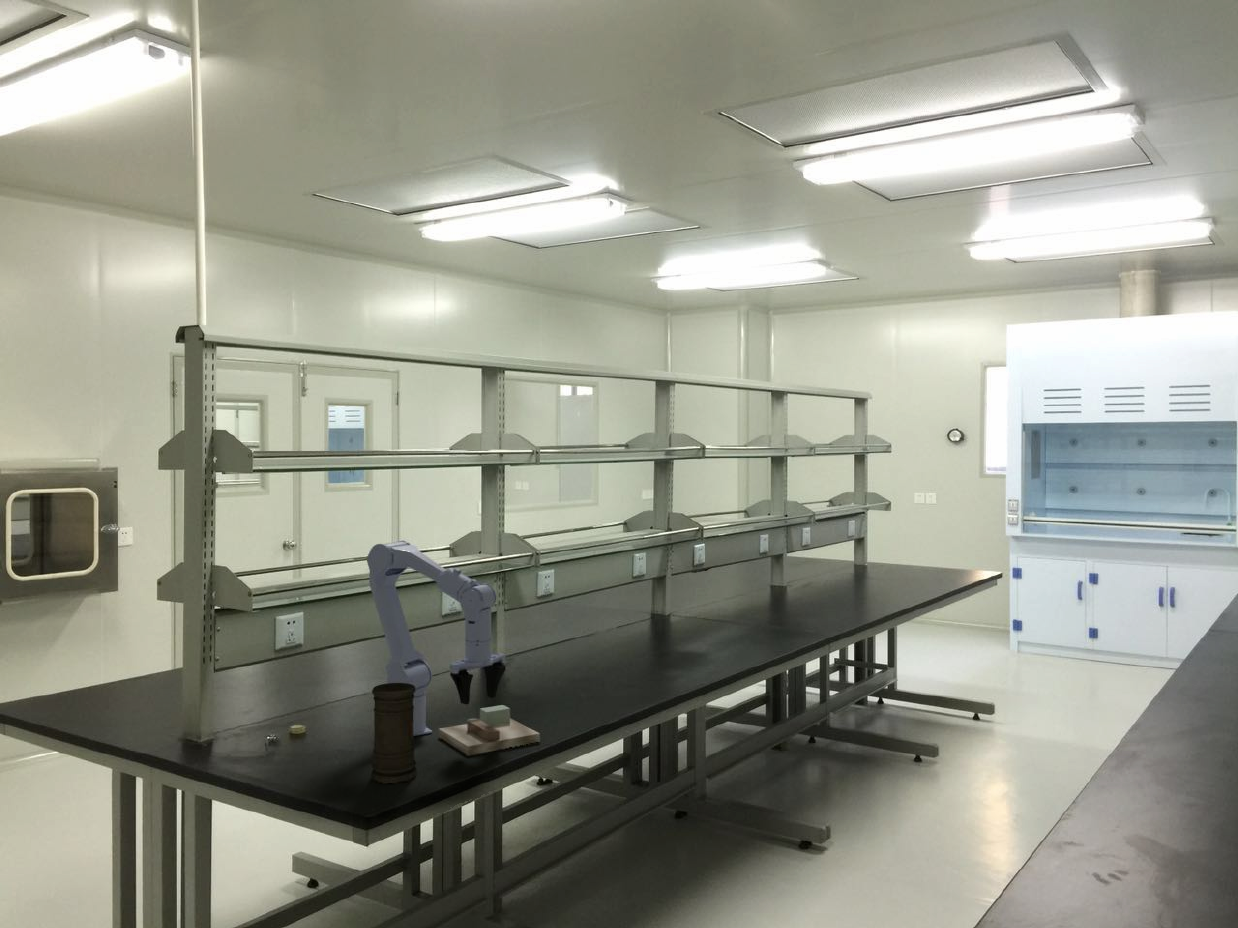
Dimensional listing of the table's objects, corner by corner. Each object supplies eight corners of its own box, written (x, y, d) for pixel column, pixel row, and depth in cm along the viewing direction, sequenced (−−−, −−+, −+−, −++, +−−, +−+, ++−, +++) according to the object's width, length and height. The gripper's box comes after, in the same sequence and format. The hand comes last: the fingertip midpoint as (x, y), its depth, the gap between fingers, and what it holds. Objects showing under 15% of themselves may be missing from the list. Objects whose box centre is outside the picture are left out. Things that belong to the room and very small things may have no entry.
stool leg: (465, 728, 224) (465, 719, 224) (476, 726, 226) (476, 717, 226) (488, 741, 214) (488, 732, 214) (500, 739, 216) (500, 730, 216)
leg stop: (486, 725, 227) (486, 712, 227) (479, 722, 230) (479, 708, 230) (509, 721, 231) (509, 708, 231) (502, 718, 234) (502, 704, 234)
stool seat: (468, 755, 212) (468, 746, 212) (438, 737, 225) (438, 728, 225) (539, 742, 222) (539, 733, 222) (507, 725, 235) (508, 717, 235)
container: (388, 787, 193) (388, 695, 192) (362, 776, 199) (362, 687, 198) (426, 775, 199) (426, 686, 199) (399, 765, 205) (399, 679, 205)
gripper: (464, 646, 213) (464, 709, 213) (514, 637, 224) (514, 697, 224) (443, 642, 218) (443, 703, 218) (494, 632, 228) (494, 691, 229)
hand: (478, 700), depth 221 cm, fingers open, 7 cm apart
